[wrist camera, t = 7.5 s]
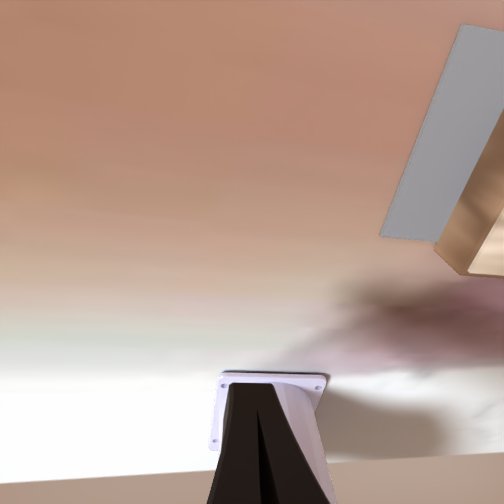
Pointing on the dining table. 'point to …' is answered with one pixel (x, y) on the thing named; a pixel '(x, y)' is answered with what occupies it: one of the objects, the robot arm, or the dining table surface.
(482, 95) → the mat
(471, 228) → the walnut slab
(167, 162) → the dining table surface
